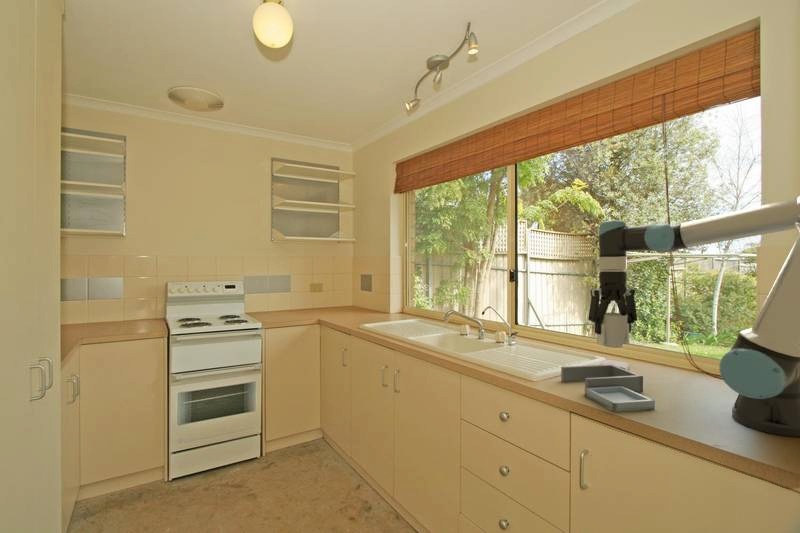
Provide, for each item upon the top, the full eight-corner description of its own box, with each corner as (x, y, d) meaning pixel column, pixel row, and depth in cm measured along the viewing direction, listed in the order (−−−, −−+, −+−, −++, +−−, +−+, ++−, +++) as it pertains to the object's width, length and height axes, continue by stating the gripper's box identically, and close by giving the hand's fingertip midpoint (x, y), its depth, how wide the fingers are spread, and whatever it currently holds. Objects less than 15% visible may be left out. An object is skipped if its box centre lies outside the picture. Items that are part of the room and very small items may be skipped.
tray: (654, 409, 112) (654, 400, 112) (614, 412, 110) (614, 403, 110) (621, 393, 125) (621, 386, 125) (584, 396, 123) (584, 388, 123)
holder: (642, 391, 127) (643, 376, 127) (587, 394, 124) (587, 379, 124) (611, 378, 141) (611, 364, 141) (561, 380, 138) (561, 366, 138)
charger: (631, 371, 151) (626, 381, 139) (605, 367, 156) (598, 376, 144) (631, 359, 150) (626, 368, 138) (605, 355, 156) (598, 363, 144)
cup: (603, 342, 127) (603, 311, 127) (631, 346, 121) (631, 314, 121) (594, 346, 122) (593, 314, 122) (622, 350, 116) (622, 316, 116)
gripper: (633, 270, 127) (633, 340, 127) (575, 270, 124) (575, 342, 124) (651, 270, 119) (651, 345, 119) (589, 271, 116) (590, 347, 116)
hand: (612, 343), depth 122 cm, fingers closed on cup, 8 cm apart
